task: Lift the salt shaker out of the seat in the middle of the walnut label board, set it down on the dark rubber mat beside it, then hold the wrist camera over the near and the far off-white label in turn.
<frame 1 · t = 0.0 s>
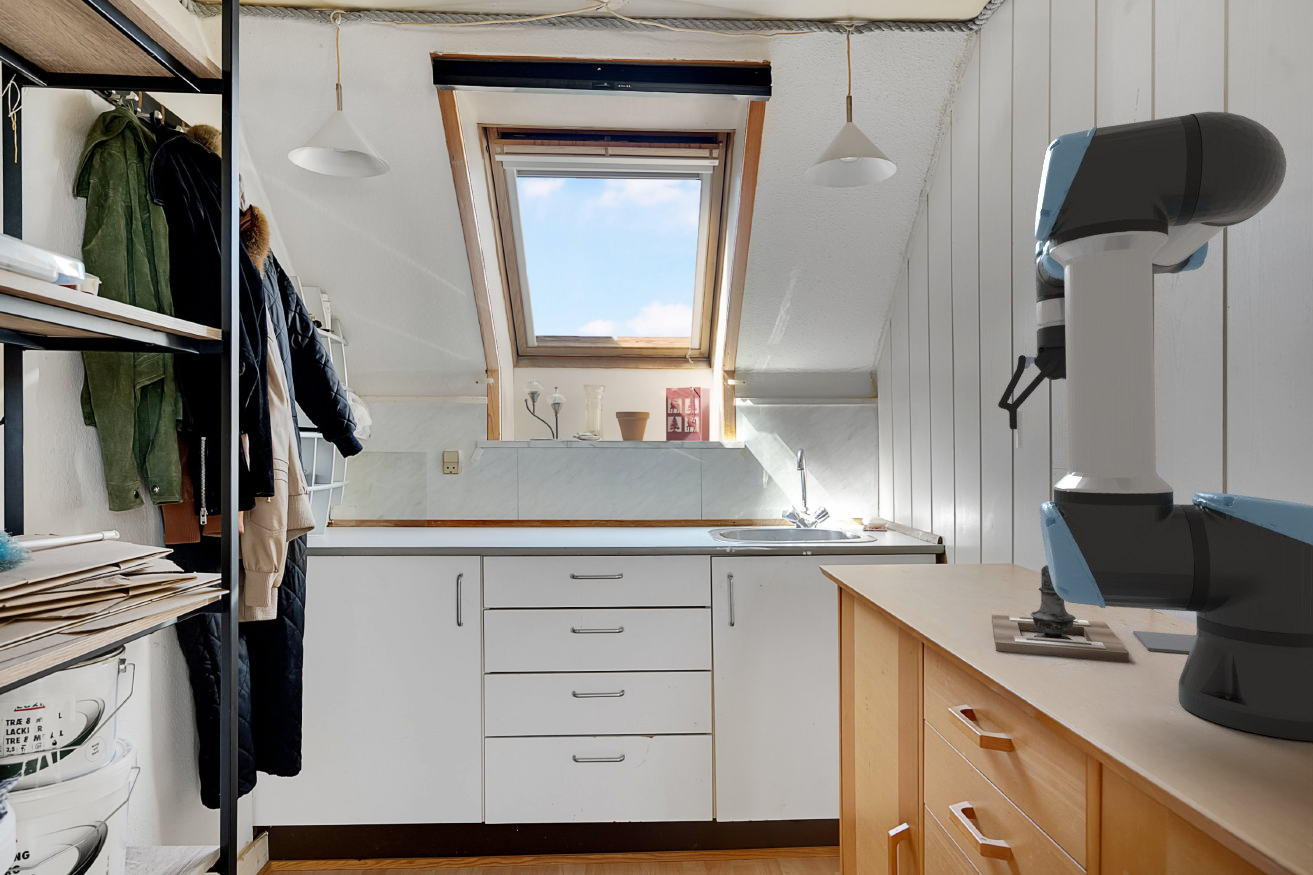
hand: (1062, 448, 130), 28 cm above the worktop, fingers open, 13 cm apart
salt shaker: (1053, 641, 110), resting in label board
label board: (1053, 639, 110), on the worktop
rubber mat: (1181, 644, 106), on the worktop
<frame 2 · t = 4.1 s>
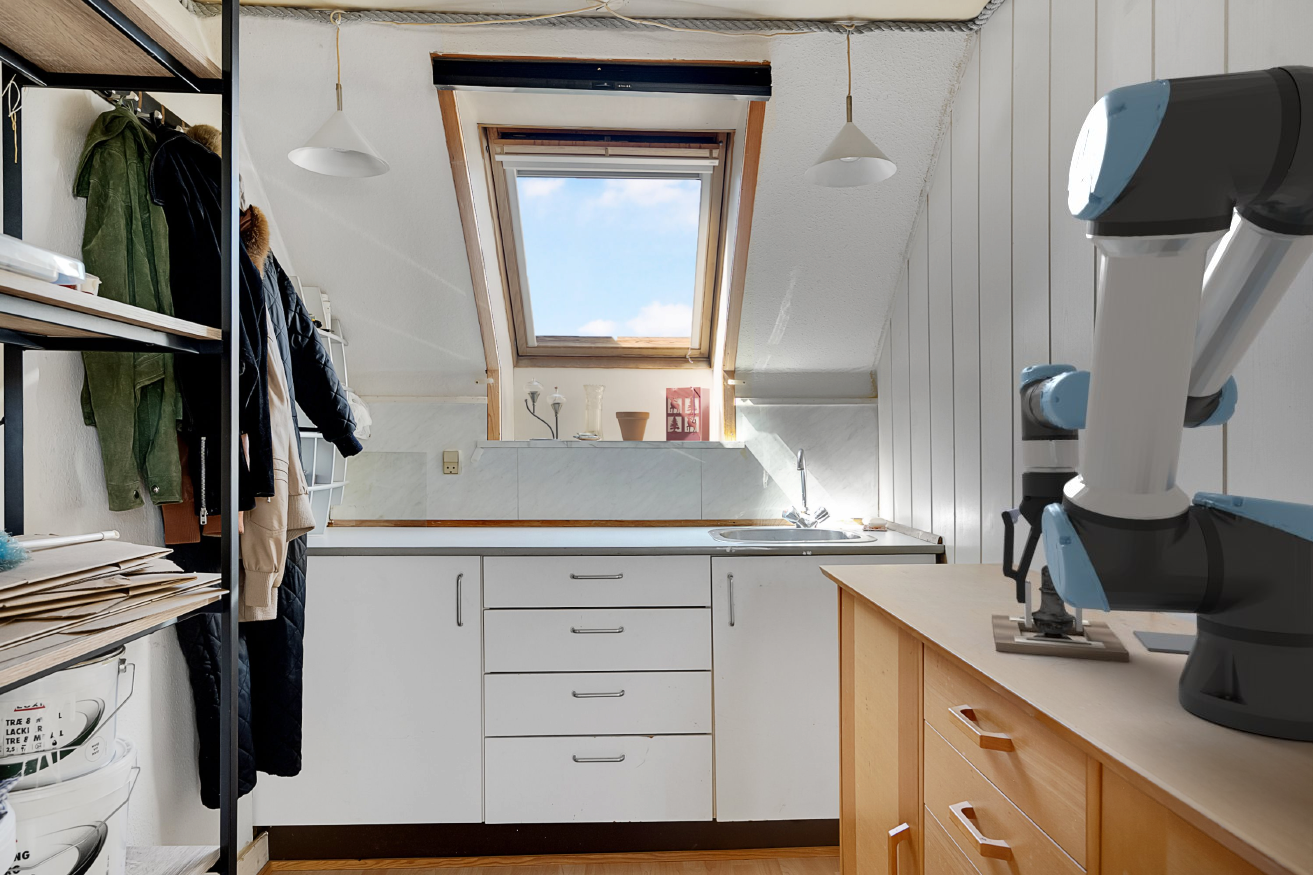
hand: (1053, 626, 110), 2 cm above the worktop, fingers closed on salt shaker, 6 cm apart
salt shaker: (1053, 641, 110), resting in label board, touching gripper
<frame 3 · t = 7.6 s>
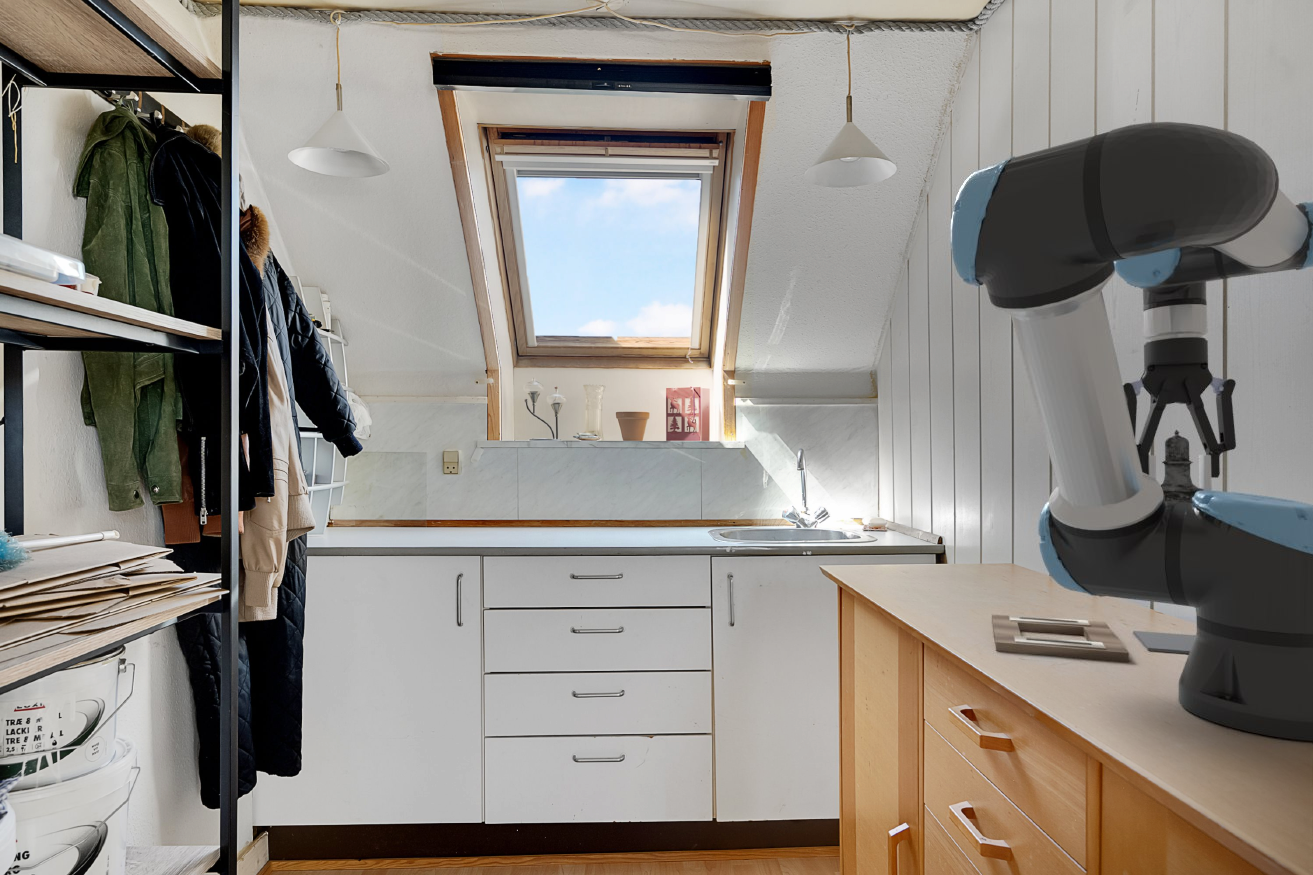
hand: (1178, 500, 107), 21 cm above the worktop, fingers closed on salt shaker, 6 cm apart
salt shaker: (1178, 515, 107), point 18 cm above the worktop, touching gripper
when the fingers open (4 cm above the worktop, at t = 11.0 s): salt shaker drops 2 cm, resting on rubber mat.
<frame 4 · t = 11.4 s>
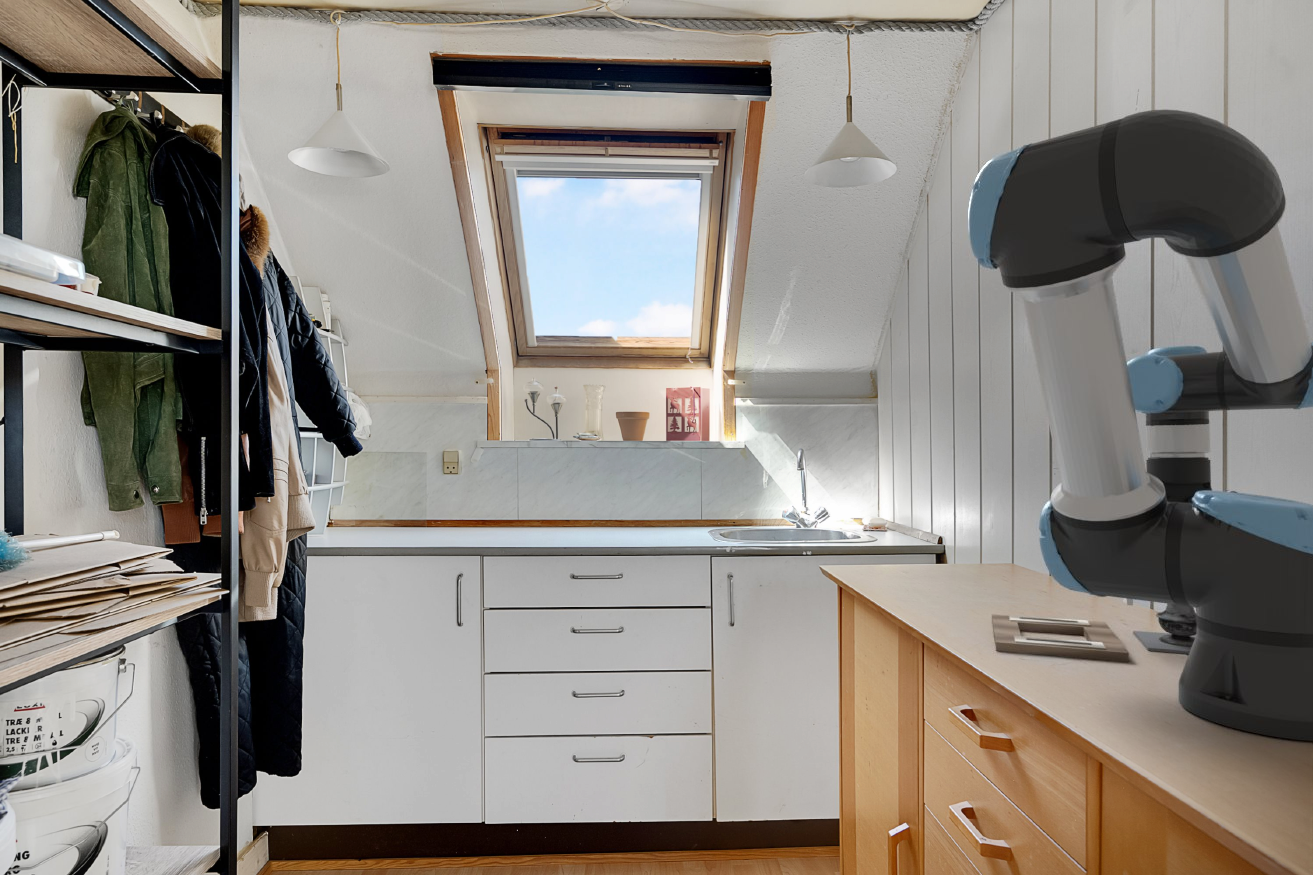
hand: (1180, 606, 106), 5 cm above the worktop, fingers open, 12 cm apart
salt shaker: (1181, 643, 106), resting on rubber mat
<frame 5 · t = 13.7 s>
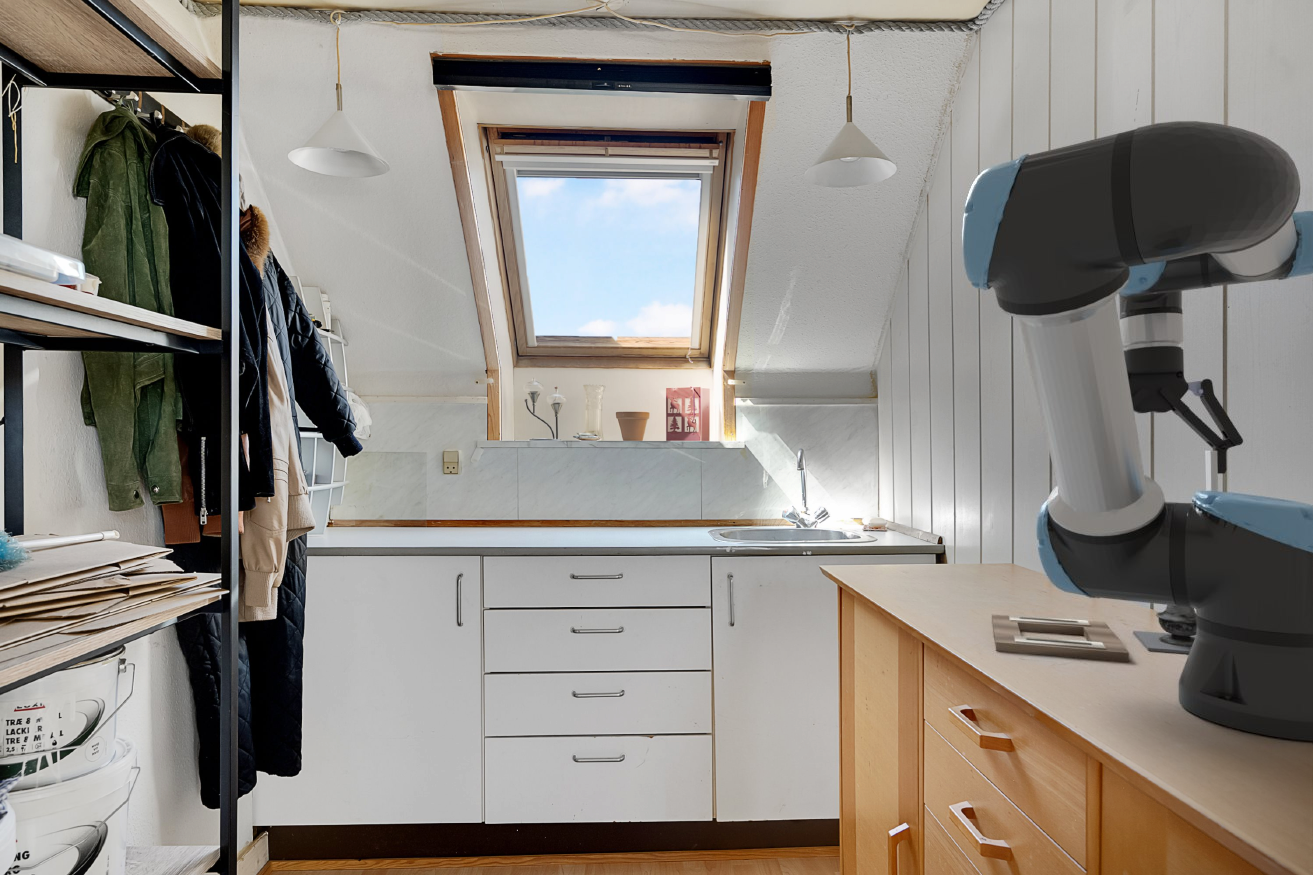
hand: (1153, 497, 106), 21 cm above the worktop, fingers open, 13 cm apart
nothing on the worktop moved.
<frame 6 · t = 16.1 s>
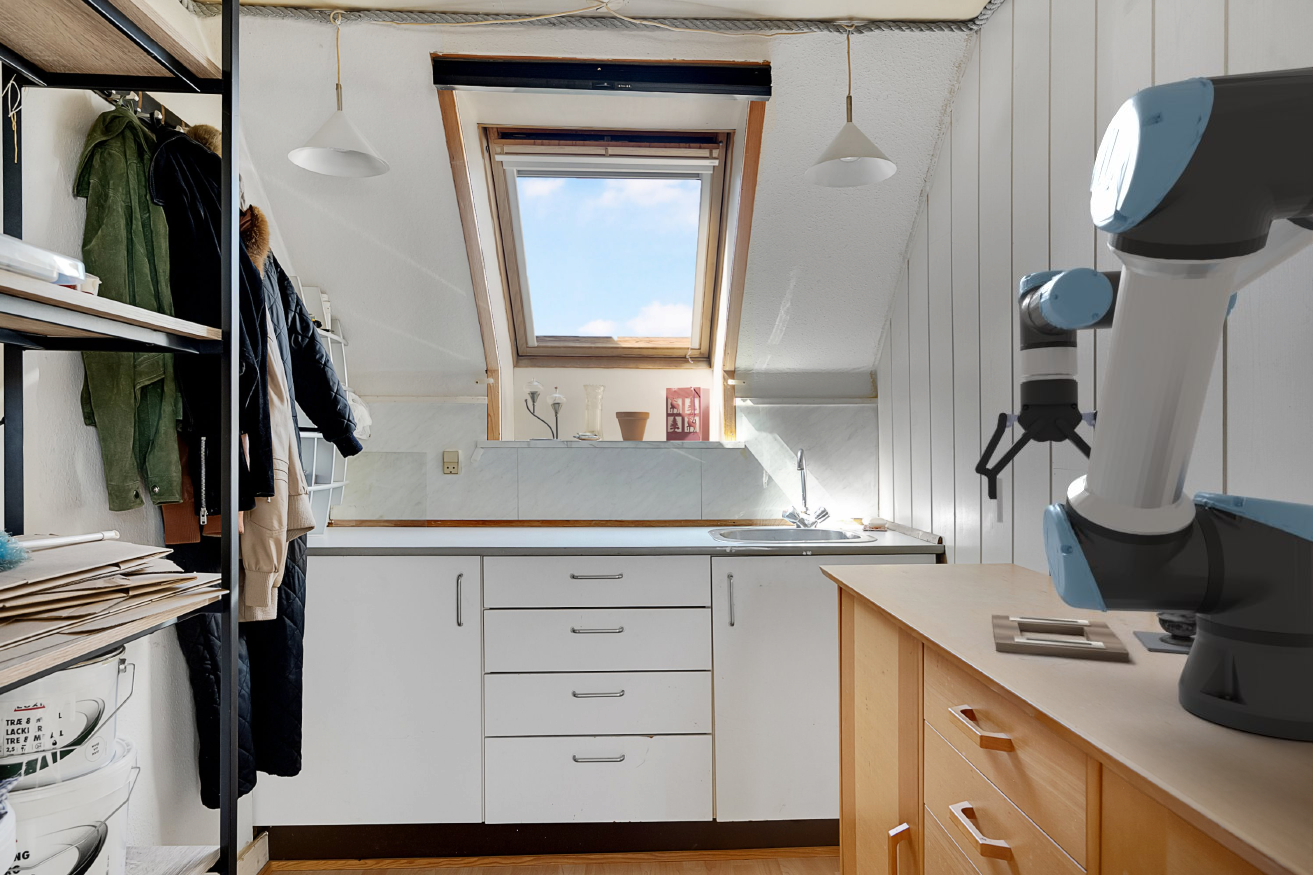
hand: (1050, 523, 110), 17 cm above the worktop, fingers open, 13 cm apart
nothing on the worktop moved.
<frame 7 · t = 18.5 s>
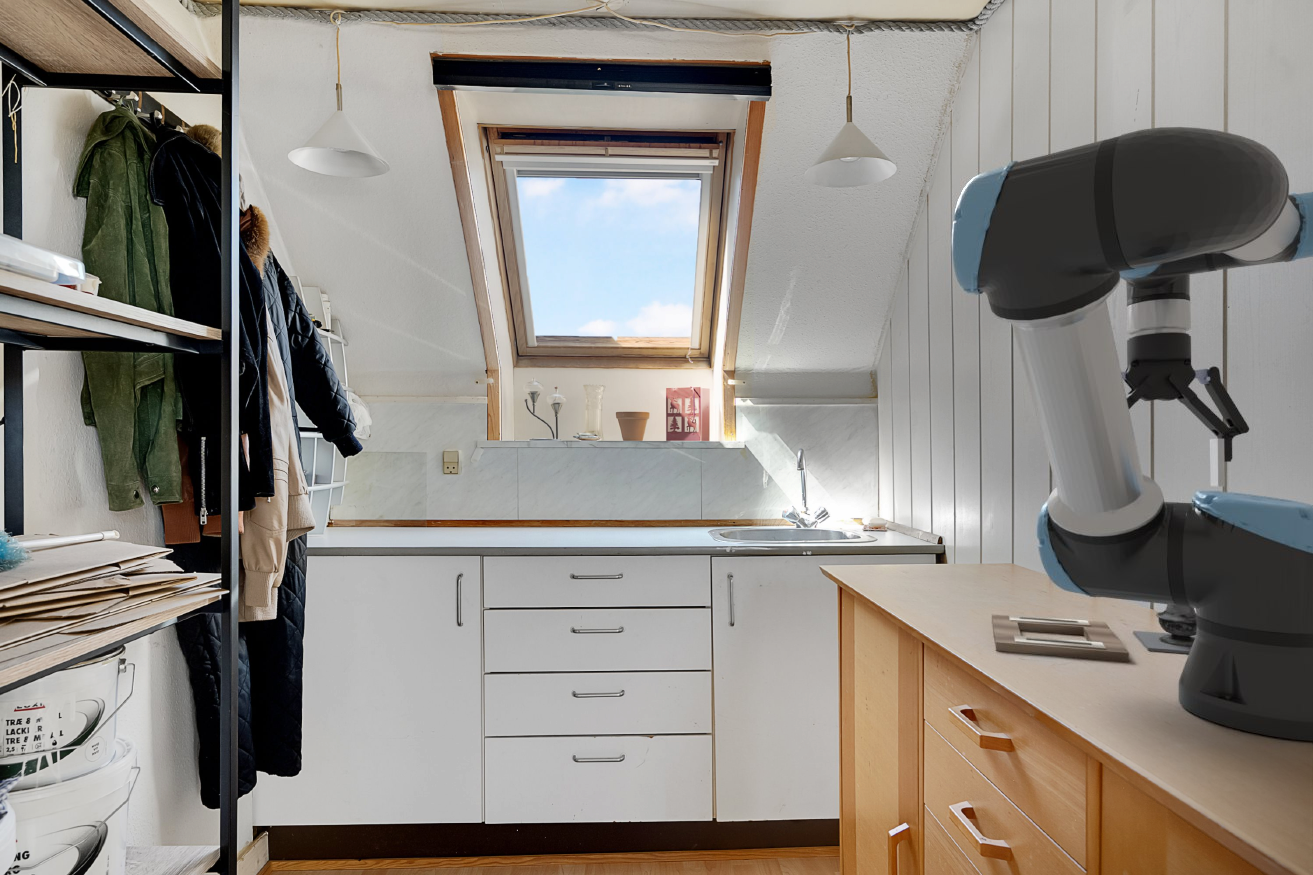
hand: (1160, 485, 105), 23 cm above the worktop, fingers open, 13 cm apart
nothing on the worktop moved.
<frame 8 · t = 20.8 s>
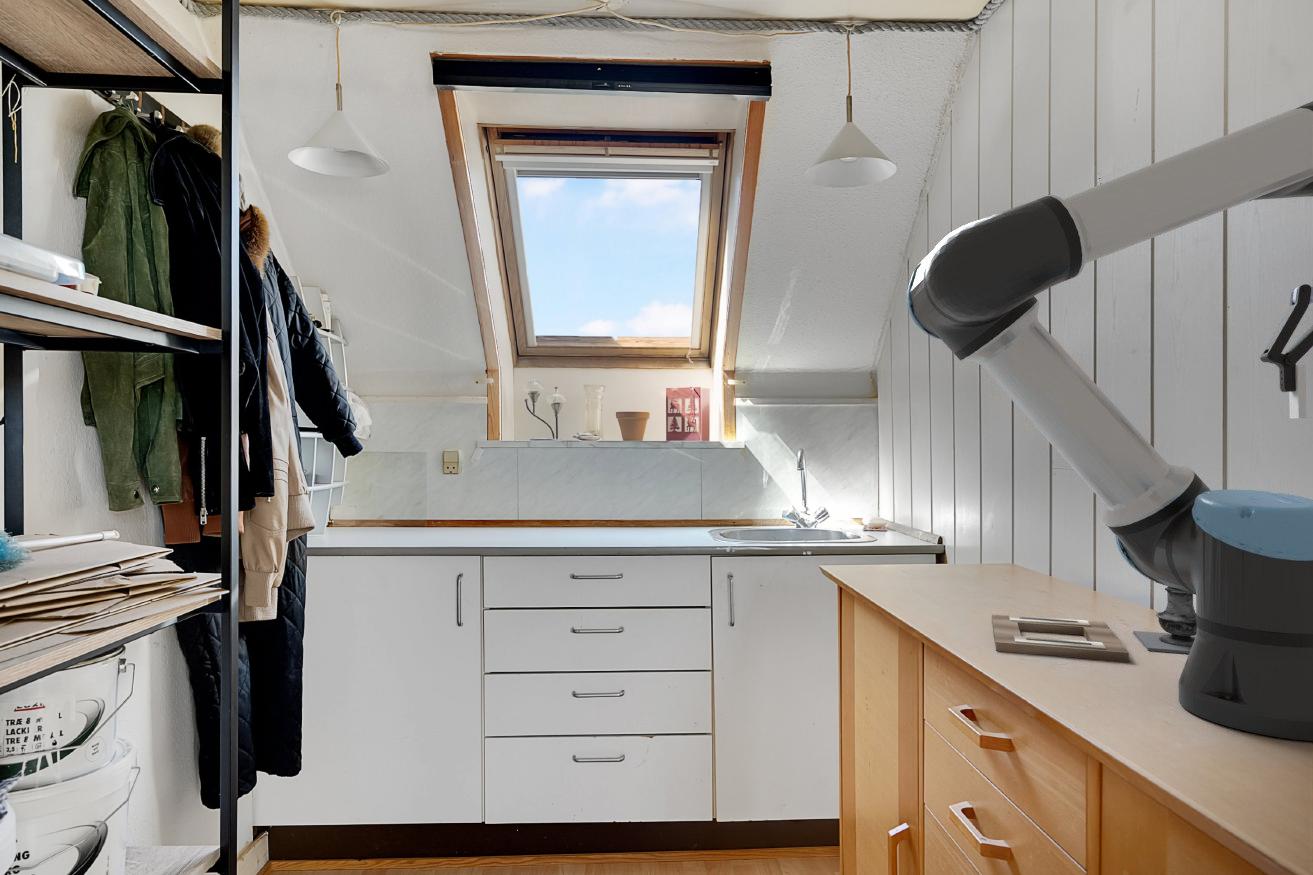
nothing on the worktop moved.
at the end: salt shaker inside the target area (0.0 cm from its centre), resting on rubber mat; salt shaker tilted 0°; the gripper is holding nothing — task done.
